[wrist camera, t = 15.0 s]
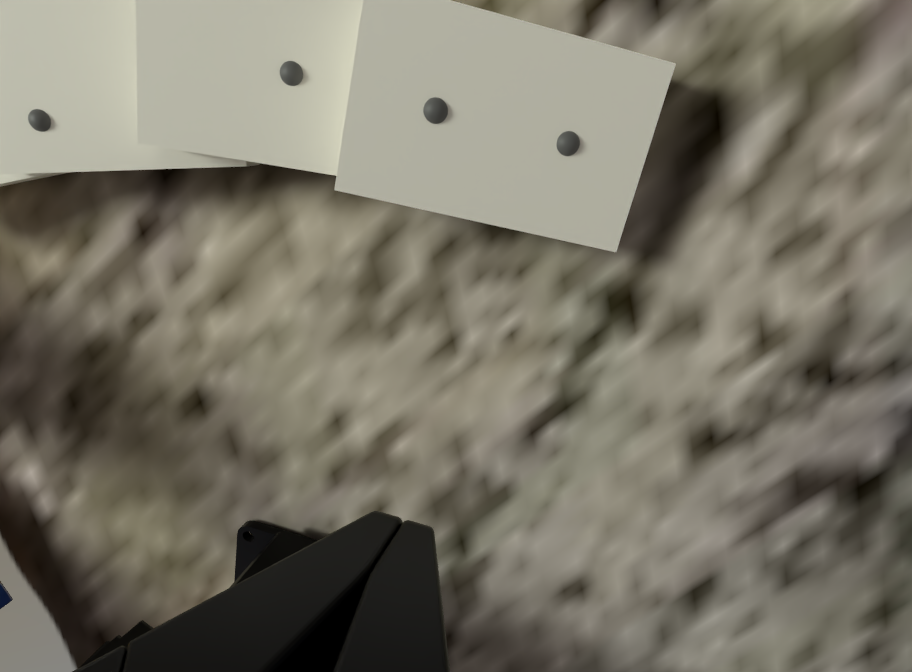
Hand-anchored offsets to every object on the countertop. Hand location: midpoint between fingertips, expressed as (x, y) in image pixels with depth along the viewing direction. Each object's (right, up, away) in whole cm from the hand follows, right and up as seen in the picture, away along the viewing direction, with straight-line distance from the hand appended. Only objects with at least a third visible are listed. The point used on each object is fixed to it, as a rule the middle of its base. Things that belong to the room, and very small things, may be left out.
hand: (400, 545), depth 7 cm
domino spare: (+6, +8, +8) cm, 13 cm away
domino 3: (-6, +11, +10) cm, 16 cm away
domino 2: (0, +10, +9) cm, 13 cm away
